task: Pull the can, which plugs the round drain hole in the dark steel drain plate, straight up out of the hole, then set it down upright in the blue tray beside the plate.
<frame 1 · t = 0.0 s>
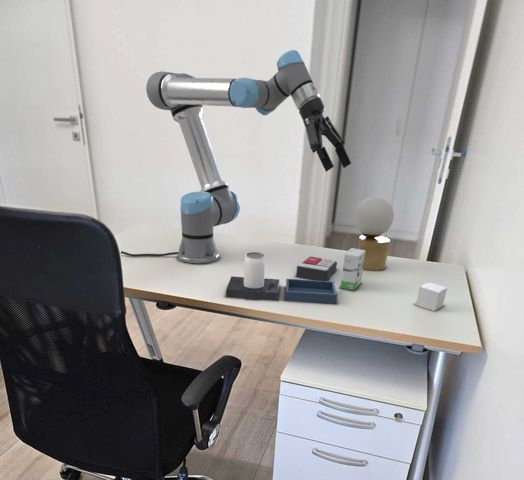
hand: (339, 167, 139), 36 cm above the table, tool tilted 35°, fingers open, 13 cm apart
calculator: (316, 273, 158), on the table
ink box: (350, 286, 148), on the table
white cube: (429, 305, 136), on the table
drain plate: (253, 291, 140), on the table
blue tray: (309, 295, 139), on the table
lamp: (366, 264, 170), on the table
can: (253, 292, 140), resting in drain plate
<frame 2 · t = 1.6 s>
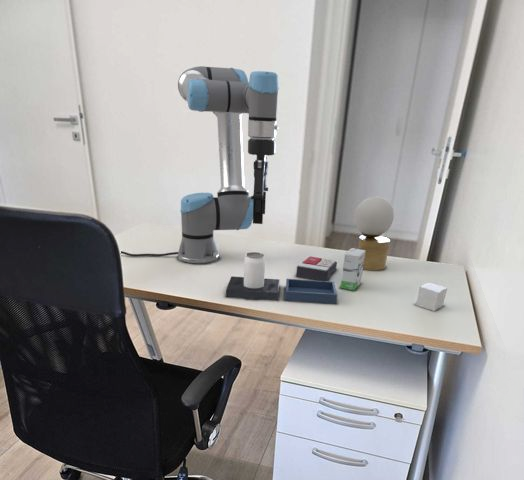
hand: (259, 218, 129), 23 cm above the table, tool pointing down, fingers open, 13 cm apart
nothing on the table moved.
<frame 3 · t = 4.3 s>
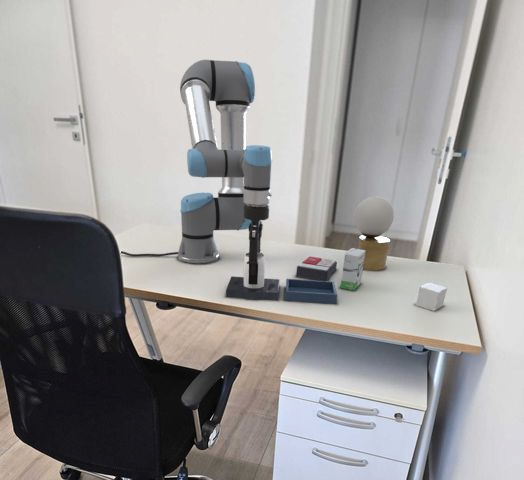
hand: (253, 279, 138), 4 cm above the table, tool pointing down, fingers closed on can, 6 cm apart
can: (253, 292, 140), resting in drain plate, touching gripper
everything else where it was.
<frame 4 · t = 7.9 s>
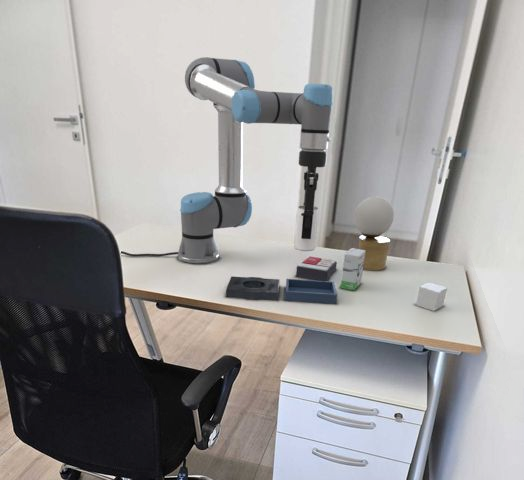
hand: (305, 235, 130), 19 cm above the table, tool pointing down, fingers closed on can, 6 cm apart
can: (304, 249, 132), point 15 cm above the table, touching gripper
everything else where it was.
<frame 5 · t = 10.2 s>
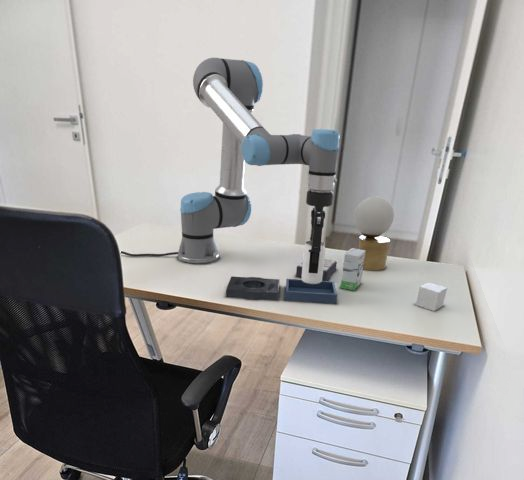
hand: (312, 268, 135), 9 cm above the table, tool pointing down, fingers closed on can, 6 cm apart
can: (311, 281, 137), point 5 cm above the table, touching gripper
everything else where it was.
when the fingers open (4 cm above the table, at t = 11.7 s): can stays where it is, resting on blue tray.
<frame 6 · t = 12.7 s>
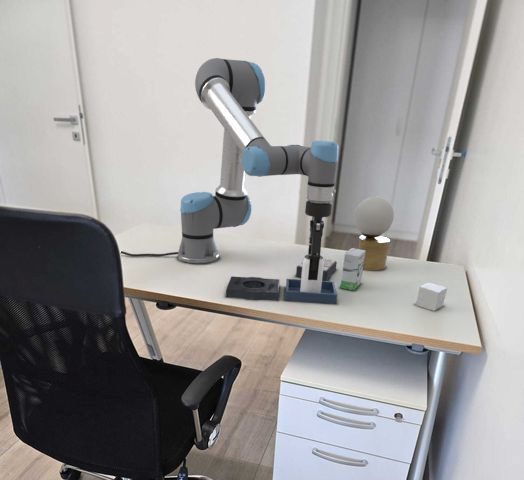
hand: (311, 272, 136), 8 cm above the table, tool pointing down, fingers open, 13 cm apart
can: (310, 294, 139), resting on blue tray
everything else where it was.
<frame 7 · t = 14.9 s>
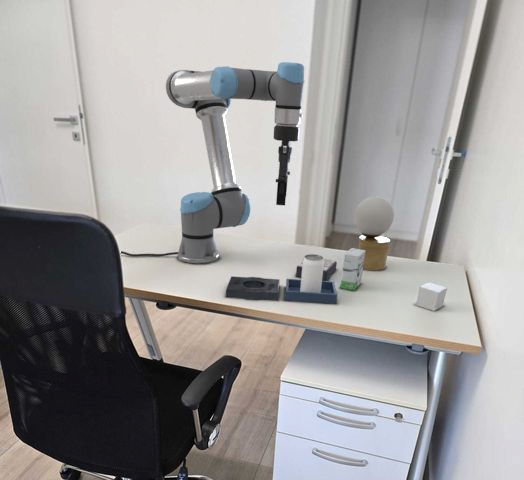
hand: (281, 200, 139), 26 cm above the table, tool pointing down, fingers open, 13 cm apart
nothing on the table moved.
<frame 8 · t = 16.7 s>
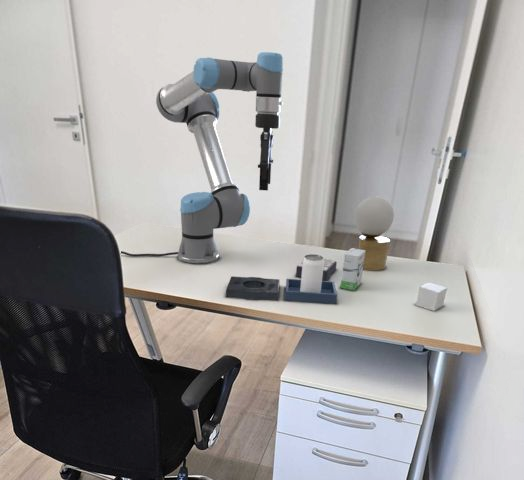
hand: (264, 186, 144), 29 cm above the table, tool pointing down, fingers open, 13 cm apart
nothing on the table moved.
at the end: can inside the target area in the blue tray (0.1 cm from its centre), point 0.3 cm above the blue tray's base; can tilted 0°; can touching blue tray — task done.
